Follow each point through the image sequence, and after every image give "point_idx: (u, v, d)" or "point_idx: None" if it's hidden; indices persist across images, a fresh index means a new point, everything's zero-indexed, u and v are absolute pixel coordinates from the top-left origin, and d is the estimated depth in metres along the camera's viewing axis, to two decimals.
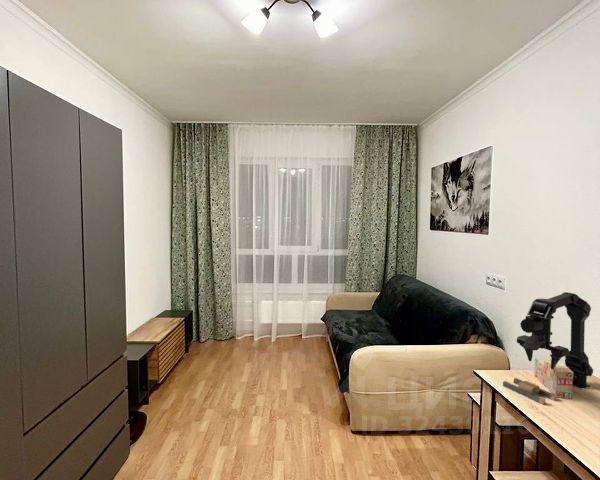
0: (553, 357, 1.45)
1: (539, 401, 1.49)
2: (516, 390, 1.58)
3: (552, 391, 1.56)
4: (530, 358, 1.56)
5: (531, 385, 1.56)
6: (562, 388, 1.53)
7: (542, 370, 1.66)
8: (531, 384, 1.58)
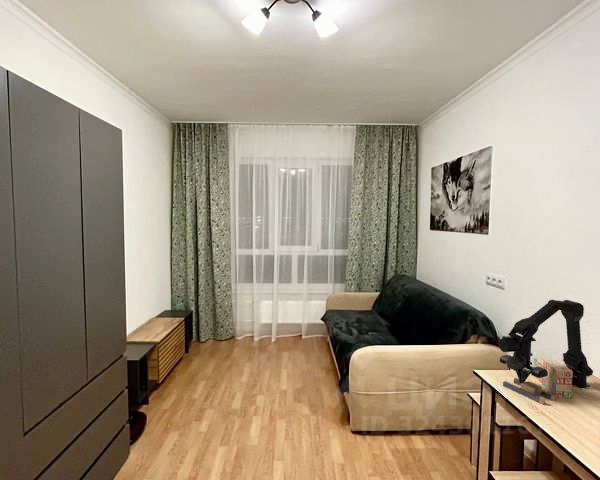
0: (522, 373, 1.58)
1: (539, 401, 1.49)
2: (516, 390, 1.58)
3: (551, 390, 1.57)
4: None
5: (533, 386, 1.55)
6: (561, 387, 1.53)
7: None
8: (533, 384, 1.57)
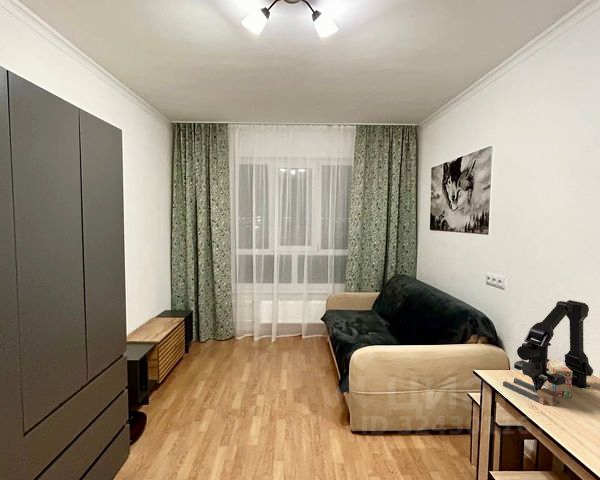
0: (539, 380, 1.51)
1: (539, 401, 1.49)
2: (516, 390, 1.58)
3: (551, 390, 1.57)
4: None
5: (551, 393, 1.49)
6: (561, 387, 1.53)
7: None
8: (551, 391, 1.51)
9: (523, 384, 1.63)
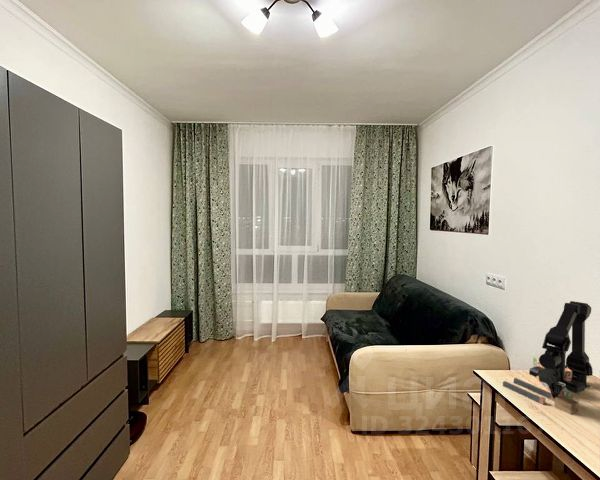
0: (556, 387, 1.45)
1: (539, 401, 1.49)
2: (516, 390, 1.58)
3: None
4: None
5: (569, 401, 1.43)
6: None
7: None
8: (569, 399, 1.44)
9: (523, 384, 1.63)
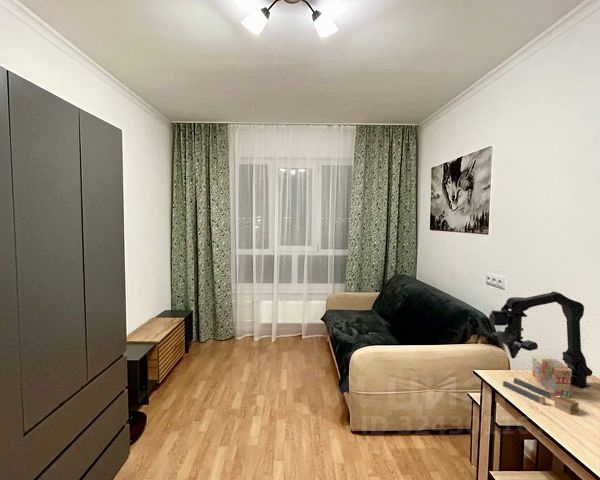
0: (514, 347, 1.63)
1: (539, 401, 1.49)
2: (516, 390, 1.58)
3: (550, 390, 1.58)
4: None
5: (569, 402, 1.43)
6: (560, 386, 1.54)
7: (540, 369, 1.67)
8: (569, 400, 1.44)
9: (523, 384, 1.63)
